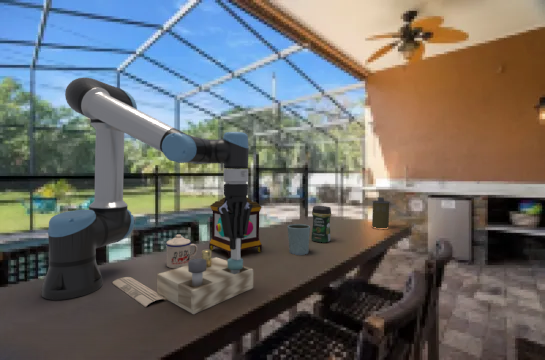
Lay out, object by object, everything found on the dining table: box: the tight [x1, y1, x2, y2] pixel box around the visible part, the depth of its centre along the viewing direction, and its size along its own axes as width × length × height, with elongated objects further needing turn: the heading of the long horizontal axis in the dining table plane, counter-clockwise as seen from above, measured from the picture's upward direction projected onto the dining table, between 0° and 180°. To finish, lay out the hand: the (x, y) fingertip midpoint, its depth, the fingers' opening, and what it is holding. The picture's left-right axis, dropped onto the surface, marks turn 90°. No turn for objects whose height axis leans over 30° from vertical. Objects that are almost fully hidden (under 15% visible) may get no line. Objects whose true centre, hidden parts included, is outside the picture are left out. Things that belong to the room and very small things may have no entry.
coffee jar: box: [311, 205, 332, 244], centre depth 152 cm, size 10×8×19 cm
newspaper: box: [111, 276, 168, 308], centre depth 87 cm, size 24×7×2 cm, turn 49°
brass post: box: [201, 248, 213, 268], centre depth 93 cm, size 3×3×5 cm
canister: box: [371, 196, 391, 228], centre depth 188 cm, size 11×10×20 cm
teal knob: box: [226, 257, 244, 274], centre depth 90 cm, size 5×5×6 cm
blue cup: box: [286, 223, 311, 256], centre depth 131 cm, size 10×10×12 cm
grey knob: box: [188, 258, 206, 286], centre depth 79 cm, size 5×5×6 cm
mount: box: [156, 256, 254, 315], centre depth 88 cm, size 22×18×6 cm
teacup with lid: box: [165, 234, 198, 269], centre depth 112 cm, size 12×9×12 cm
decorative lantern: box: [208, 195, 263, 259], centre depth 130 cm, size 20×20×30 cm
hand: (235, 258), depth 90 cm, fingers closed
